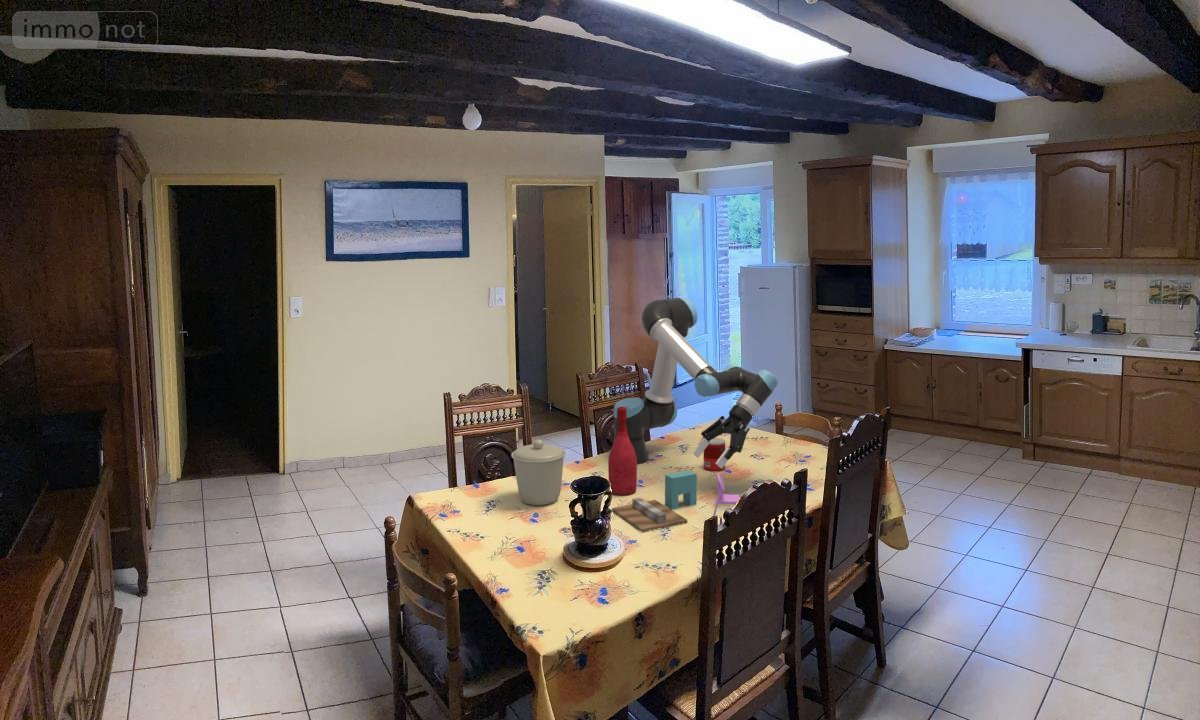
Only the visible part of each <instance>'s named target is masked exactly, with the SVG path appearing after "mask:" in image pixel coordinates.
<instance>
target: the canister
mask: <svg viewBox="0 0 1200 720" xmlns="http://www.w3.org/2000/svg"><path fill="white" fill-rule="evenodd" d="M566 453H567V451H566V450H564V449H563V448H561V447H560V446H558V445H554V444H551V443H544V441H543V440H542V439H535V440H534V441H533V442H532V444H527V445H523V446H520V447H519V448H517V449H515V450H514V451H513V452H512V453H510V454H511V458H512V459H513V465H514V471H515V477H516V478H515V479H516V485H517V490H518V491H517V492H518V495H519V498H520V500H521V502H523V503H525V504H526V505H530V506H545V505H549V504H553V503H555V502H556V501H557V500H558V499H559V498H560V495H561V491H562V482H563V481H562V480H563V471H564V468H563V467H564V457H565V456H566Z"/></svg>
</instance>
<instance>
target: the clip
mask: <svg viewBox="0 0 1200 720" xmlns="http://www.w3.org/2000/svg"><path fill="white" fill-rule="evenodd" d="M697 476H698V475H697V473H696V472H694V471H692V470H690V469H688V470H683V471H677V472H672V473H666V474H664V506H666V507H667V506H668V508H669V509H671V510H676V509H679V495H682V501H683V503H685V504H686V505H689V506H690V507H691V506H695V505H697V503H698V502H697V492H698V491H697V489H698V488H697V487H698V486H697V480H698V479H697Z"/></svg>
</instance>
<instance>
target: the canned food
mask: <svg viewBox="0 0 1200 720" xmlns="http://www.w3.org/2000/svg"><path fill="white" fill-rule="evenodd" d="M725 450H726V440H725V439H723V438H720V437H715V438H714V439H712V440H710V443H709V444H708V446H707V447H706V448H705V450H704V451H703V469H704V470H705V471H708V472H713V471H718V472H722V471H724V470H725V468H726V464H725V465H724V466H723V468H722V469H721V468H720V467H719V466H718V465H717V464H716V462H717V461H718V459H719V458H720V457H721V455H722V454H723V453H724V451H725Z"/></svg>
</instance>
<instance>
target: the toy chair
mask: <svg viewBox="0 0 1200 720" xmlns="http://www.w3.org/2000/svg"><path fill="white" fill-rule="evenodd" d="M716 476H717V482H716V486H717V493H718V495H717V498H716V499H715V500H716V501H715V506H714V512H713V513H712V517H713V516H714V515H715V516H716V515H717V510H718V506H719V505H727V504H728V505H736V503H737V502H738V500H739V498H740V494H734V493H733V494H727V493H725V482H724V481H723V475H722V473H721V472H718V473H717V474H716ZM736 506H737V505H736Z"/></svg>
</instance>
